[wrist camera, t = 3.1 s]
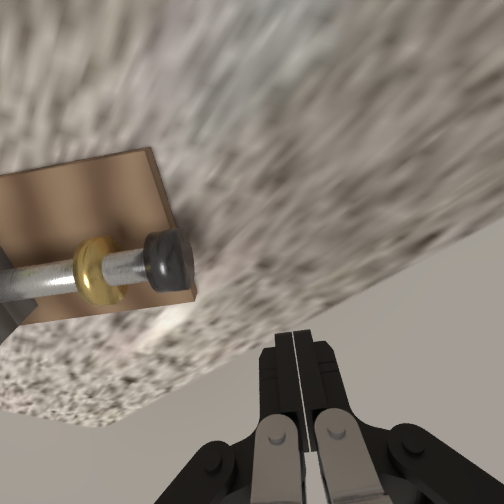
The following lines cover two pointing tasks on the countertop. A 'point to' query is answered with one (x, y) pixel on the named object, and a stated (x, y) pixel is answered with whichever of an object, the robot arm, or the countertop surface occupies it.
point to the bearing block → (81, 227)
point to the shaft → (107, 270)
